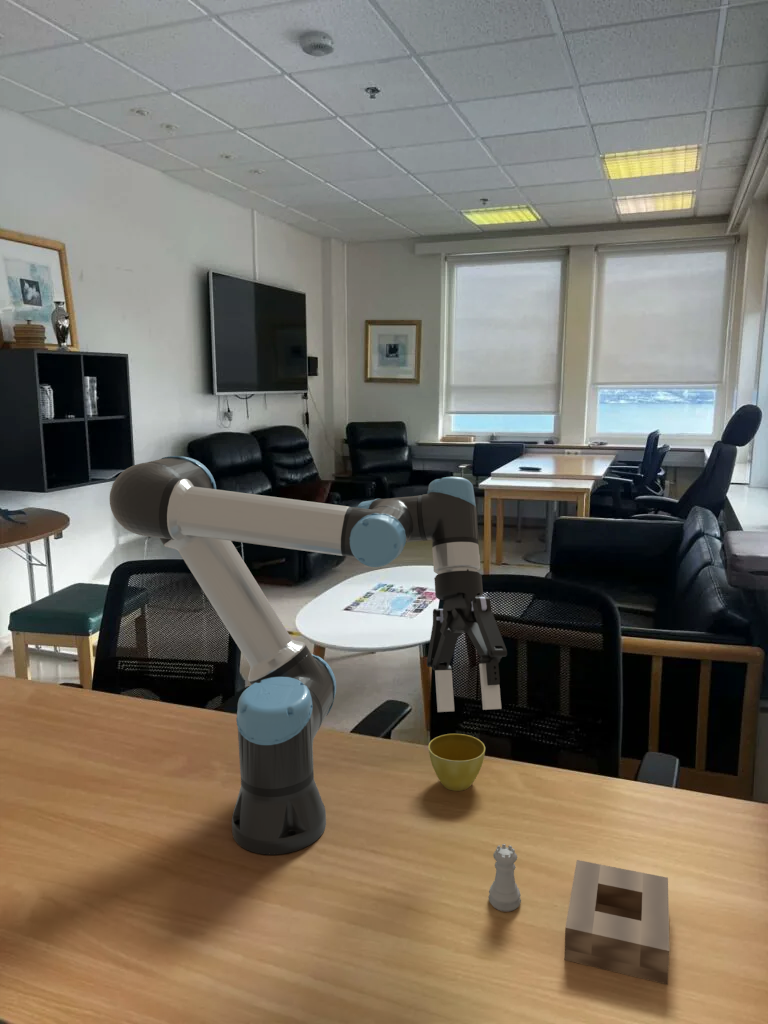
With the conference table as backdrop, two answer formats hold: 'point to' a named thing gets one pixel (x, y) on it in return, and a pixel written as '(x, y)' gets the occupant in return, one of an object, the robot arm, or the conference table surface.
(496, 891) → the rook chess piece
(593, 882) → the socket block
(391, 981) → the conference table surface
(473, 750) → the flower pot
